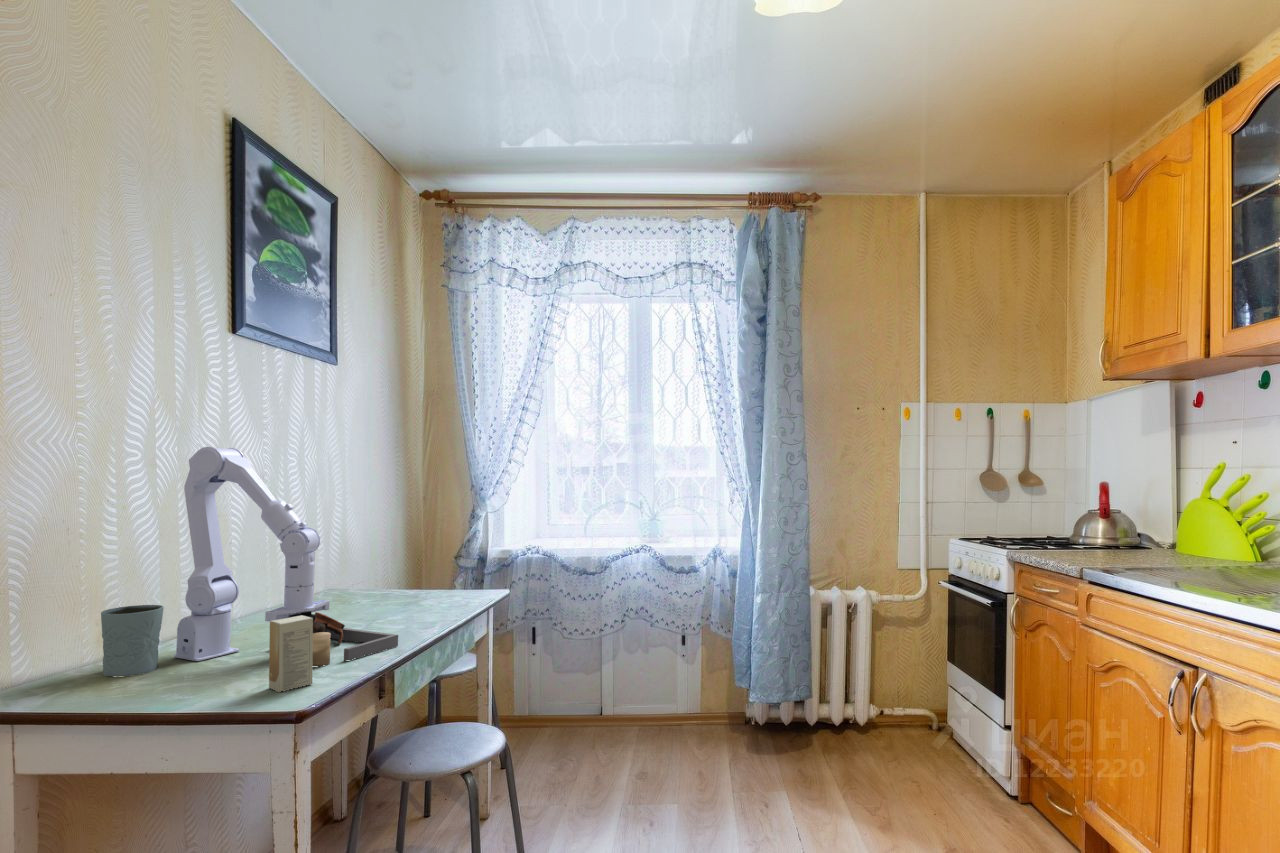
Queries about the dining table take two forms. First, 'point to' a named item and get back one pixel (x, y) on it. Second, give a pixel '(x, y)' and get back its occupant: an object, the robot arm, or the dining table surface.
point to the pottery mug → (327, 625)
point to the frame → (365, 642)
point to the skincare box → (290, 653)
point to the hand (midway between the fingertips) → (297, 649)
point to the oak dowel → (321, 648)
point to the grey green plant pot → (131, 639)
